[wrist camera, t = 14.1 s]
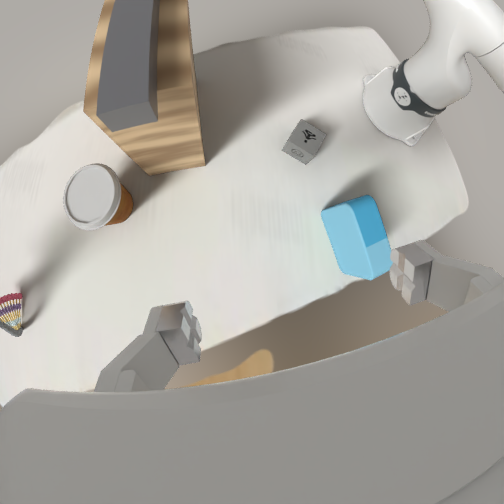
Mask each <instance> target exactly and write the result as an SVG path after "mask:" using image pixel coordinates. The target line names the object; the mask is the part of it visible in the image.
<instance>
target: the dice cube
mask: <svg viewBox="0 0 504 504" xmlns="http://www.w3.org/2000/svg"><path fill="white" fill-rule="evenodd" d="M325 137H326V134H325V133H323V132H322V131H320V130H319V129H317V128H315V127H314V126H312V125H311V124H309V123H307V122H306V121H304V120H302V119H301V120H300V122H299V123H298V125H297V126H296V127H295V129H294V130H293V132H292V134H291V135H290V137H289V139H288V140H287V142H286V144H285V145H284V147H283V149H282V151H284V152H286V153H287V154H289V155H291V156H292V157H294V158H296V159H297V160H299V161H301V162H302V163H304V164H305V165H306V164H307V163H308V162H309V161H310V160H312V159H313V158H314V157H315V155H316V153H317V151H318V150H319V148H320V146H321V144H322V142H323V140H324V138H325Z"/></svg>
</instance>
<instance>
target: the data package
mask: <svg viewBox="0 0 504 504" xmlns="http://www.w3.org/2000/svg"><path fill="white" fill-rule="evenodd" d="M321 217H322V220H323V223H324V226H325V228H326V231H327V234H328V236H329V239H330V242H331V245H332V248H333V251H334V253H335V256H336V259H337V262H338V265H339V268H340V269H341V271H342V272H343V273H344V274H348V275H352V276H356V277H360V278H364V279H368V280H372V279H374V278H376V277H378V276H380V275H382V274H384V273H385V272H387V271H389V270H390V267H391V266H392V264H393V262H392V261H391V259H390V254H391V248H390V244H389V241H388V238H387V235H386V231H385V228H384V225H383V222H382V219H381V216H380V213H379V210H378V208H377V205H376V202H375V200H374V199H373V198H372V197H371V196H369V195H365V196H362V197H359V198H355V199H352V200H349V201H346V202H343V203H340V204H337V205H335V206H332V207H330V208H327V209H324V210H322V212H321Z"/></svg>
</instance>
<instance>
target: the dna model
mask: <svg viewBox="0 0 504 504" xmlns="http://www.w3.org/2000/svg"><path fill="white" fill-rule="evenodd" d="M14 299H16V307H15V304H14ZM17 299H19V304H17ZM20 299H22V294H21V293H18V294H17V293H15V294H12V293H11V294H8V295H5V296H3V297H1V298H0V306H1V308H2V310H1V309H0V313H1V314H2V315H3V317H4V318H5V320H6V321H7V322H6V321H5V320H4V318H3V317H2V315H1V314H0V317H1V318H2V319H3V320H2V319H1V318H0V327H1V328H2V329H4V330H5V331H7V332H8V333H10V334H11V335H13V336H15V337H19V336H21V334H22V332H23V328H22V327H21V318H20V309H21V304H20ZM10 300H13V306H12V304H11V301H10ZM7 301H9V302H10V307H9V305H8V302H7ZM4 302H6V303H7V307H6V306H5V304H4ZM2 303H3V304H4V307H5V309H4V308H3V307H2V305H1V304H2ZM7 308H8V309H7ZM10 308H11V309H10ZM18 308H19V315H18ZM5 310H6V311H5ZM13 310H14V311H15V316H16V319H15V316H14V312H13ZM16 310H17V315H16ZM8 311H9V312H10V315H11V317H12V314H11V311H12V313H13V317H14V319H13V317H12V319H11V317H10V315H9V312H8ZM3 312H4V314H5V315H6V317H7V319H8V320H7V319H6V317H5V316H4V314H3ZM6 312H7V314H8V316H9V318H10V320H11V322H12V320H13V322H12V324H13V323H14V324H13V326H12V324H11V322H10V320H9V318H8V316H7V314H6ZM17 316H18V320H17ZM19 320H20V325H19ZM3 321H4V322H5V323H4V322H3ZM8 321H9V322H10V323H9V322H8ZM16 321H17V322H16ZM7 323H8V324H9V325H10V324H11V325H10V326H9V325H8V324H7ZM15 323H16V324H15ZM14 325H15V326H14ZM16 326H17V327H16Z"/></svg>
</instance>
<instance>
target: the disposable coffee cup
mask: <svg viewBox="0 0 504 504" xmlns="http://www.w3.org/2000/svg"><path fill="white" fill-rule="evenodd" d="M63 204H64V209H65V212H66V215H67V216H68V217H69V219H70V221H71V222H72V223H73V224H74V225H75V226H77V227H78V228H80V229H83V230H96V229H98V228H101V227H103V226H105V225H111V224H117V223H121V222H123V221H125V220H126V219H127V218H128V217H129V216H130V214H131V212H132V209H133V200H132V197H131V195H130V193H129V192H128V191H127V190H126V189H125V188H124V186H123V185H122V184H121V183H120V182H119V179H118V177H117V175H116V173H115V172H114V171H113V170H112V169H111V168H110V167H108V166H106V165H103V164H90V165H87V166H84V167H82V168H80V169H78V170H77V171H76V172H75V173H74V174H73V175H72V176H71V177H70V179H69V181H68V182H67V185H66V187H65V190H64V196H63Z"/></svg>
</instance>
